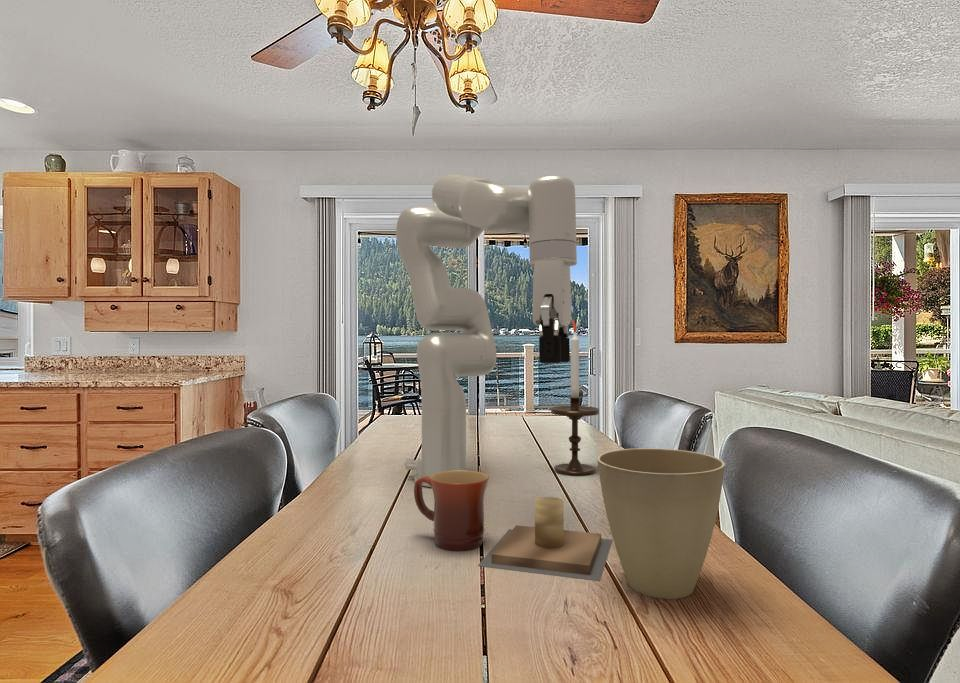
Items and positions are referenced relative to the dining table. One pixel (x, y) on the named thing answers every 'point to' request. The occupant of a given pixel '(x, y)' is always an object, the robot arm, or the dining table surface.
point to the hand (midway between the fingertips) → (555, 362)
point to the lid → (549, 543)
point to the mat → (594, 574)
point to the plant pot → (661, 515)
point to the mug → (455, 508)
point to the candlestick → (574, 416)
